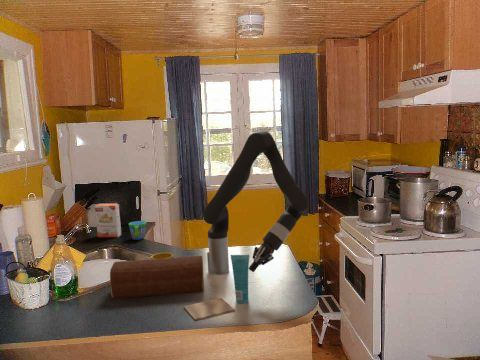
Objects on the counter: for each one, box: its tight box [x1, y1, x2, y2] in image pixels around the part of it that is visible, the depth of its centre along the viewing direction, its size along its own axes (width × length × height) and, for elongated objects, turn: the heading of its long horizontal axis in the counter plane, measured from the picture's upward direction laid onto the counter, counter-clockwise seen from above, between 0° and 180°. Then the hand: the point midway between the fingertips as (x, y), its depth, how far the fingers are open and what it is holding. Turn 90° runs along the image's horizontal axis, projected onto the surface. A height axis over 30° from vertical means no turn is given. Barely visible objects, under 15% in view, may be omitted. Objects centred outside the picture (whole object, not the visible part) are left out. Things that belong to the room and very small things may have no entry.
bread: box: [109, 255, 205, 299], centre depth 197 cm, size 16×39×13 cm, turn 95°
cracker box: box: [94, 203, 122, 238], centre depth 291 cm, size 14×6×21 cm, turn 81°
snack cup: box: [128, 220, 147, 241], centre depth 283 cm, size 16×10×10 cm
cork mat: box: [183, 297, 235, 321], centre depth 175 cm, size 16×13×1 cm
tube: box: [230, 254, 250, 304], centre depth 180 cm, size 7×5×19 cm, turn 89°
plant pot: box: [150, 252, 174, 260], centre depth 215 cm, size 10×10×10 cm
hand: (250, 270), depth 182 cm, fingers closed
